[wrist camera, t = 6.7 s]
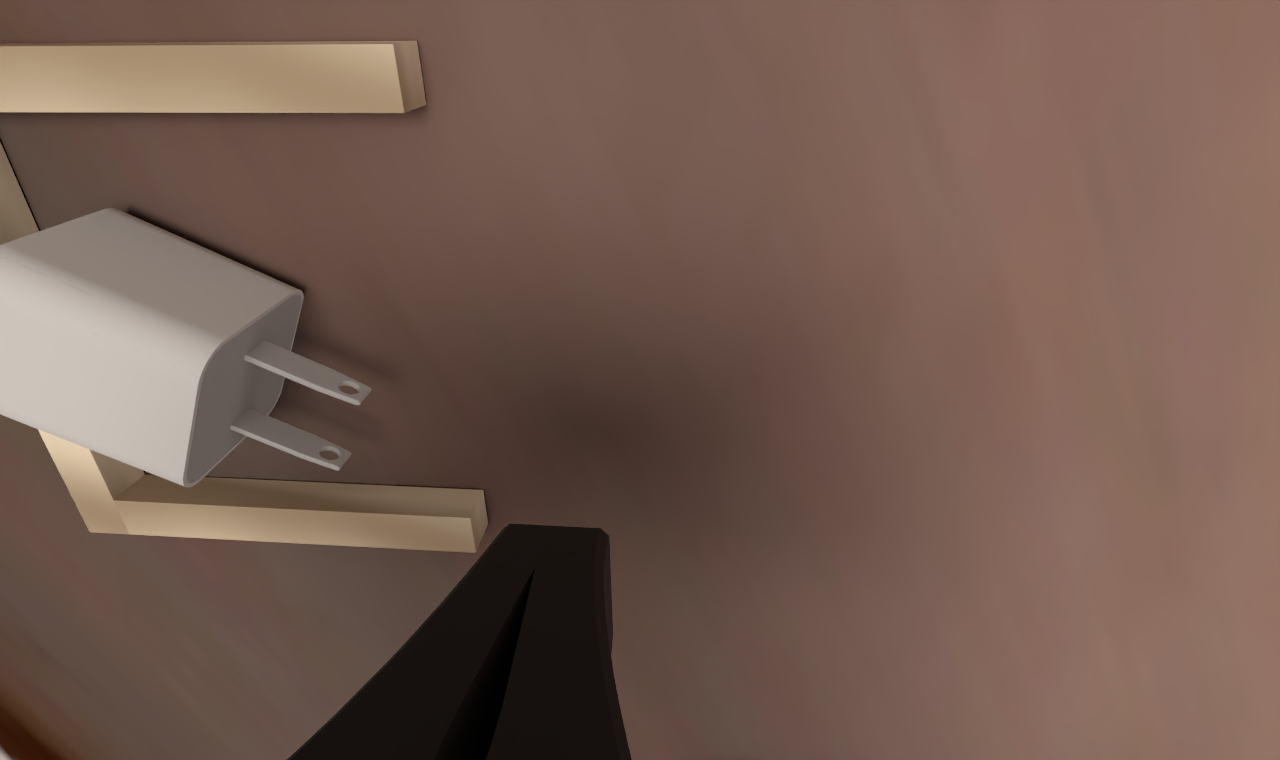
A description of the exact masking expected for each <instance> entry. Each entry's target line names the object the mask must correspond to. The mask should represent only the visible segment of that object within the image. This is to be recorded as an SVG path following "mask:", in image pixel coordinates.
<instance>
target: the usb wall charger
mask: <svg viewBox="0 0 1280 760" xmlns="http://www.w3.org/2000/svg"><path fill="white" fill-rule="evenodd" d="M303 300H304V295H303V292H302V291H301V290H299V289H297V288H294V287H292V286H290V285H288V284H285V283H283V282H281V281H279V280H276V279H274V278H272V277H270V276H267V275H265V274H263V273H261V272H258V271H256V270H254V269H252V268H249V267H247V266H245V265H242V264H240V263H238V262H236V261H233V260H231V259H229V258H227V257H224V256H222V255H220V254H218V253H215V252H213V251H211V250H209V249H206V248H204V247H202V246H200V245H197V244H195V243H193V242H191V241H188V240H186V239H184V238H181V237H179V236H177V235H175V234H172V233H170V232H168V231H166V230H163V229H161V228H159V227H157V226H154V225H152V224H150V223H148V222H145V221H143V220H141V219H139V218H136V217H134V216H132V215H129V214H127V213H125V212H123V211H120V210H118V209H116V208H106V209H103V210H100V211H97V212H94V213H91V214H88V215H86V216H83V217H80V218H77V219H74V220H71V221H68V222H65V223H62V224H59V225H57V226H54V227H51V228H48V229H45V230H42V231H39V232H36V233H33V234H30V235H28V236H25V237H22V238H19V239H16V240H13V241H10V242H7V243H4V244H2V245H0V414H1V415H3V416H6V417H8V418H11V419H14V420H16V421H19V422H21V423H24V424H26V425H29V426H31V427H34V428H37V429H39V430H42V431H44V432H47V433H49V434H52V435H54V436H57V437H59V438H62V439H65V440H67V441H70V442H72V443H75V444H77V445H80V446H82V447H85V448H87V449H90V450H93V451H95V452H98V453H100V454H103V455H105V456H108V457H110V458H113V459H116V460H118V461H121V462H123V463H126V464H128V465H131V466H133V467H136V468H138V469H141V470H144V471H146V472H149V473H151V474H154V475H156V476H159V477H161V478H164V479H167V480H169V481H172V482H174V483H177V484H179V485H182V486H184V487H187V488H188V487H192V486H194V485H196V484H197V483H198V482H199V481H201V480H202V479H203V478H204V477H205V476H206V475H207V474H208V473H209V472H210V471H211V470H212V469H213V468H214V467H215V466H216V465H218V464H219V463H220V462H221V461H222V460H223V459H224V458H225V457H226V456H227V455H228V454H229V453H230V452H231V451H232V450H233V449H234V448H235V447H237V446H238V445H239V444H240V443H241V442H242V441H243V440H244V439H245V438H246V437H247V436H248V437H250V438H253V439H255V440H258V441H260V442H263V443H265V444H267V445H270V446H272V447H275V448H277V449H280V450H282V451H285V452H287V453H290V454H292V455H294V456H297V457H299V458H302V459H305V460H308V461H311V462H314V463H316V464H319V465H322V466H325V467H328V468H331V469H333V470H340V469H341V467H342V466H343V465H344V464H345V462H346V461H347V460H348V459H349V457H350V456H351V452H349V451H348V450H345V449H343V448H341V447H339V446H337V445H335V444H333V443H331V442H329V441H327V440H325V439H322V438H320V437H318V436H316V435H314V434H311V433H309V432H306V431H304V430H302V429H299V428H297V427H294V426H292V425H289V424H287V423H285V422H282V421H280V420H277V419H275V418H272V417H270V416H268V415H269V414H270V413H271V411H272V410H273V408H274V407H275V405H276V403H277V401H278V399H279V397H280V395H281V392H282V388H283V384H284V379H285V377H286V378H288V379H291V380H293V381H295V382H298V383H300V384H302V385H305V386H307V387H309V388H312V389H314V390H317V391H319V392H322V393H324V394H327V395H330V396H333V397H335V398H338V399H341V400H343V401H346V402H349V403H351V404H354V405H360V404H361V403H362V402H363V400H364V399H365V398H366V397H367V396H368V395H369V394H370V392H371V391H372V389H371V388H370V387H368V386H366V385H364V384H362V383H360V382H358V381H356V380H354V379H352V378H350V377H348V376H346V375H344V374H342V373H340V372H338V371H336V370H333V369H331V368H329V367H326V366H324V365H322V364H319V363H317V362H315V361H312V360H310V359H308V358H305V357H303V356H300V355H298V354H296V353H293V352H291V350H292V346H293V342H294V338H295V333H296V329H297V325H298V321H299V317H300V312H301V308H302V304H303ZM340 386H351V387H353V388H355V389H356V390H357V391H358V392H359V393H357V394H346V393H344V392H342V391H341V390H340V389H339V388H338V387H340ZM326 450H328V451H333V452H335V453H336V454H338V456H339V458H338V459H336V460H327V459H324V458H322V457H321V456H320V454H319V453H320V452H322V451H326Z"/></svg>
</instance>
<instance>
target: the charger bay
mask: <svg viewBox="0 0 1280 760" xmlns="http://www.w3.org/2000/svg"><path fill="white" fill-rule="evenodd" d="M425 105H426V99H425V92H424V85H423V78H422V72H421V65H420V58H419V51H418V45H417V41H313V42H158V43H3V44H0V112H145V113H406V112H409V111H411V110H414V109H417V108H420V107H422V106H425ZM36 232H39V230H38V228H37V225H36V223H35V221H34V218H33V216H32V214H31V212H30V209H29V207H28V205H27V202H26V200H25V198H24V195H23V193H22V191H21V189H20V186H19V184H18V182H17V179H16V177H15V175H14V172H13V170H12V168H11V166H10V163H9V161H8V159H7V156H6V154H5V152H4V149H3V147H2V145H1V143H0V245H2V244H4V243H7V242H10V241H13V240H16V239H19V238H22V237H25V236H28V235H30V234H33V233H36ZM38 431H39V433H40V435H41V437H42V439H43V441H44V443H45V445H46V447H47V449H48V451H49V453H50V455H51V456H52V458H53V460H54V462H55V464H56V466H57V468H58V470H59V472H60V474H61V476H62V478H63V480H64V482H65V484H66V486H67V488H68V490H69V492H70V494H71V496H72V498H73V500H74V502H75V504H76V506H77V508H78V510H79V512H80V514H81V516H82V518H83V520H84V522H85V524H86V526H87V527H88V529H89V531H90V532H97V533H116V534H134V535H153V536H172V537H190V538H209V539H227V540H246V541H265V542H283V543H302V544H321V545H339V546H358V547H377V548H395V549H414V550H433V551H451V552H470V553H476V551H477V549H478V547H479V544H480V542H481V539H482V537H483V535H484V532H485V530H486V528H487V525H488V519H487V512H486V506H485V499H484V492H483V490H474V489H452V488H430V487H409V486H387V485H365V484H344V483H322V482H300V481H279V480H257V479H236V478H214V477H204V478H203V479H202V480H201V481H199V482H198V483H197V484H196V485H194V486H192V487H188V488H187V487H184V486H182V485H179V484H177V483H174V482H172V481H169V480H167V479H164V478H161V477H159V476H156V475H149V474H144V471H143V470H141V469H138V468H136V467H133V466H131V465H128V464H126V463H123V462H121V461H118V460H116V459H113V458H110V457H108V456H105V455H103V454H100V453H98V452H95V451H93V450H90V449H87V448H85V447H82V446H80V445H77V444H75V443H72V442H70V441H67V440H65V439H62V438H59V437H57V436H54V435H52V434H49V433H47V432H44V431H42V430H39V429H38Z"/></svg>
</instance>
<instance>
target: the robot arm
mask: <svg viewBox="0 0 1280 760" xmlns="http://www.w3.org/2000/svg"><path fill="white" fill-rule="evenodd" d="M612 638H613V623H612V597H611V571H610V546H609V535H607V534H606V533H605V532H604V531H603V530H602V529H601V528H582V527H563V526H543V525H524V524H509V525H508V526H507V527H505V528H504V529H503V530H502V531H501V532H500V534H499V535H498V536H497V537H496V538H495V540H494V541H493V542H492V543H491V545H490V546H489V547H488V548H487V550H486V551H485V552H484V553H483V554H482V556H481V557H480V558H479V559H478V561H477V562H476V563H475V564H474V565H473V567H472V568H471V569H470V570H469V571H468V573H467V574H466V575H465V576H464V577H463V579H462V580H461V581H460V582H459V583H458V584H457V586H456V587H455V588H454V589H453V590H452V591H451V593H450V594H449V595H448V596H447V597H446V598H445V600H444V601H443V602H442V603H441V604H440V605H439V606H438V607H437V609H436V610H435V611H434V612H433V613H432V614H431V615H430V616H429V617H428V618H427V620H426V621H425V622H424V623H423V624H422V625H421V626H420V627H419V628H418V630H417V631H416V632H415V633H414V634H413V635H412V636H411V637H410V638H409V640H408V641H407V642H406V643H405V644H404V645H403V646H402V647H401V648H400V649H399V650H398V651H397V653H396V654H395V655H394V656H393V657H392V658H391V659H390V660H389V661H388V662H387V663H386V664H385V665H384V666H383V667H382V668H381V669H380V670H379V671H378V672H377V673H376V674H375V675H374V676H373V677H372V678H371V679H370V680H369V681H368V682H367V683H366V684H365V685H364V686H363V687H362V688H361V689H360V690H359V691H358V692H357V693H356V694H355V695H354V696H353V697H352V698H351V699H350V700H349V701H348V702H347V703H346V704H345V705H344V706H343V707H342V708H341V709H340V710H339V711H338V712H337V713H336V714H335V715H334V716H333V717H332V718H331V719H330V720H329V721H328V722H327V723H326V724H325V725H324V726H323V727H322V728H321V729H320V730H318V731H317V732H316V733H315V734H314V735H313V736H312V737H311V738H310V739H309V740H308V741H307V742H306V743H305V744H304V745H302V746H301V747H300V748H299V749H298V750H297V751H296V752H295V753H294V754H293V755H292V756H290V757H289V758H288V759H287V760H632V759H631V755H630V751H629V747H628V743H627V738H626V733H625V729H624V724H623V720H622V715H621V710H620V706H619V701H618V695H617V690H616V685H615V679H614V673H613V667H612V660H611V651H612Z"/></svg>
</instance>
